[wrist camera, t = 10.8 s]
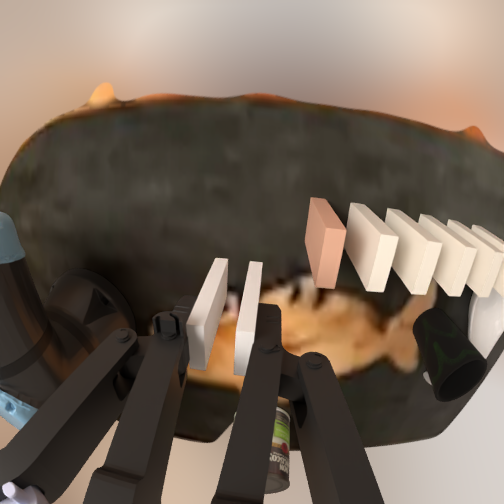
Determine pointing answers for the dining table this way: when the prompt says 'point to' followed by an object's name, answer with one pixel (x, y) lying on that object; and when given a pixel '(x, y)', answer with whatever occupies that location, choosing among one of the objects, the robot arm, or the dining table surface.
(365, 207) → the tile
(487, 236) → the cream flat rectangular block
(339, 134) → the dining table surface
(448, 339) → the cup
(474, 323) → the spoon rest
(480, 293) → the tile
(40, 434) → the robot arm
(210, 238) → the dining table surface
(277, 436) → the coffee can
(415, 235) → the tile
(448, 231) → the tile
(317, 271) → the tile
